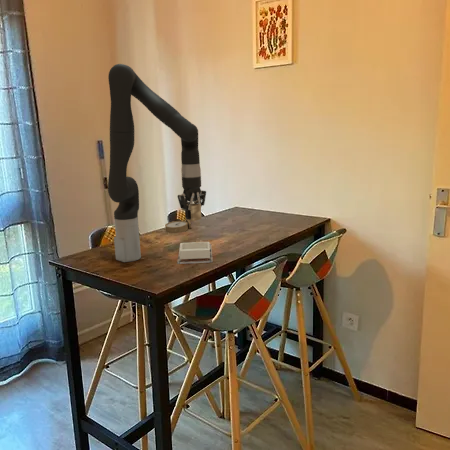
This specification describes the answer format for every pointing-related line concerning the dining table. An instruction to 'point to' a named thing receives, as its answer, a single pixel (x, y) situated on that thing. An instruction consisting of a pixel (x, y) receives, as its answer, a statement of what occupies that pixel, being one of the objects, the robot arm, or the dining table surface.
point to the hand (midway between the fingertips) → (193, 217)
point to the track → (198, 260)
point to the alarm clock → (177, 226)
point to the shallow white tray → (194, 250)
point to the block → (195, 212)
